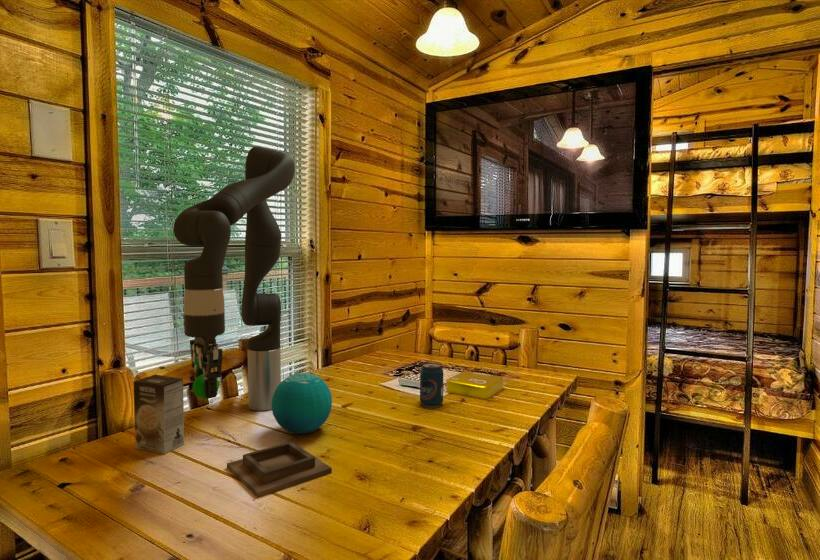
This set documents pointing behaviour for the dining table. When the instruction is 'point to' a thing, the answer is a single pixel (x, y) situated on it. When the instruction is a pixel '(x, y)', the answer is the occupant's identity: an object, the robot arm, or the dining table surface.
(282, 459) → the tray
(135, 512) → the dining table surface
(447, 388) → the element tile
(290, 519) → the dining table surface
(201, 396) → the polyhedron
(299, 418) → the decorative orb
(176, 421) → the coffee box
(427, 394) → the soda can
